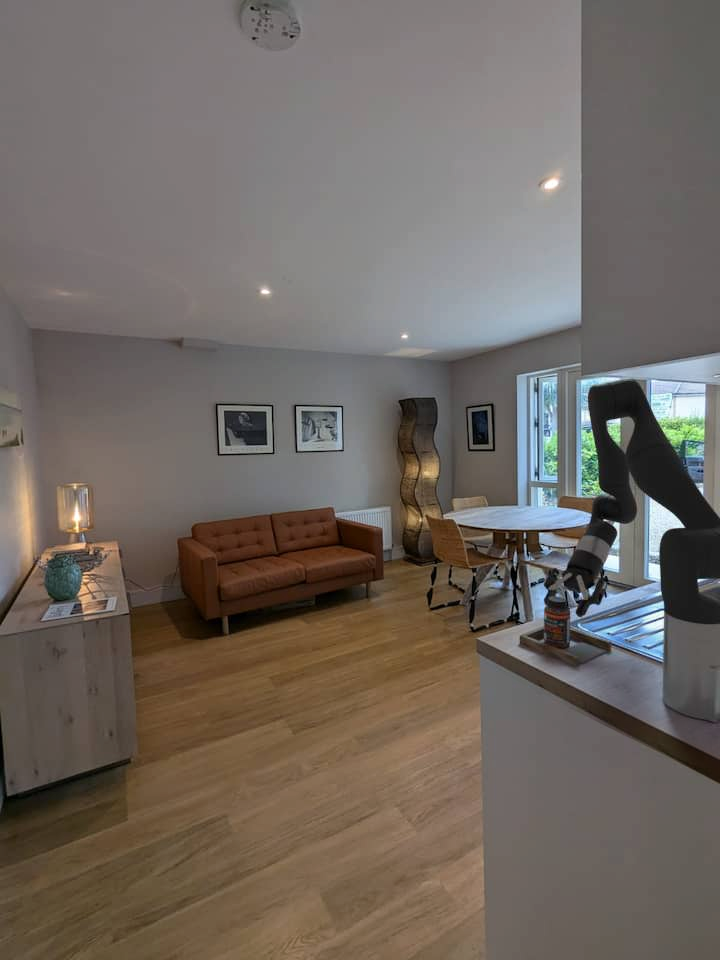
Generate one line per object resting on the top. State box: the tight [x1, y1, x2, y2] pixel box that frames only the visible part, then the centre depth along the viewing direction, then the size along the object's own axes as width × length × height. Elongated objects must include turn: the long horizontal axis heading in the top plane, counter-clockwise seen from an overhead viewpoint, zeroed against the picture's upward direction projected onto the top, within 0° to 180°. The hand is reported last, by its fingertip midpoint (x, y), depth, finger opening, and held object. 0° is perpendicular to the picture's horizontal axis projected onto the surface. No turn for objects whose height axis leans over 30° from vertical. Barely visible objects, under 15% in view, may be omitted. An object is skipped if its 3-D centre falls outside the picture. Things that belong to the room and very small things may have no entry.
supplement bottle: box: [543, 595, 571, 649], centre depth 112 cm, size 6×6×11 cm
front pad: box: [563, 641, 608, 665], centre depth 107 cm, size 6×10×1 cm, turn 122°
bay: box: [519, 625, 612, 668], centre depth 110 cm, size 15×14×2 cm
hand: (562, 610), depth 113 cm, fingers open, 8 cm apart
